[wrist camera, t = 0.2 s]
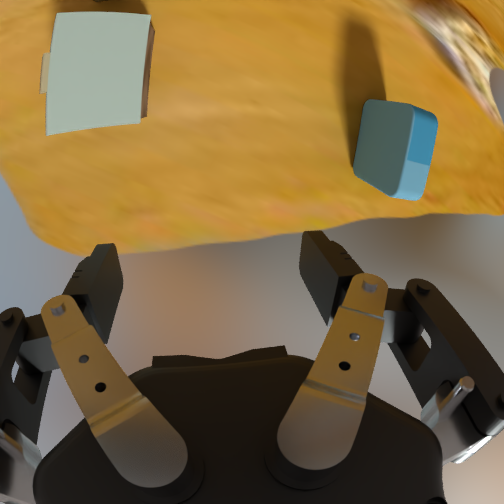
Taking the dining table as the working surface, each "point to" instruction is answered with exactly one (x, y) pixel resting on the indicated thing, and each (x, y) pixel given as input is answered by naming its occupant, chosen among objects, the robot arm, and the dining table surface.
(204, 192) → the dining table surface
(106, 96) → the box lid
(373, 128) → the data package
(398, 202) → the dining table surface
